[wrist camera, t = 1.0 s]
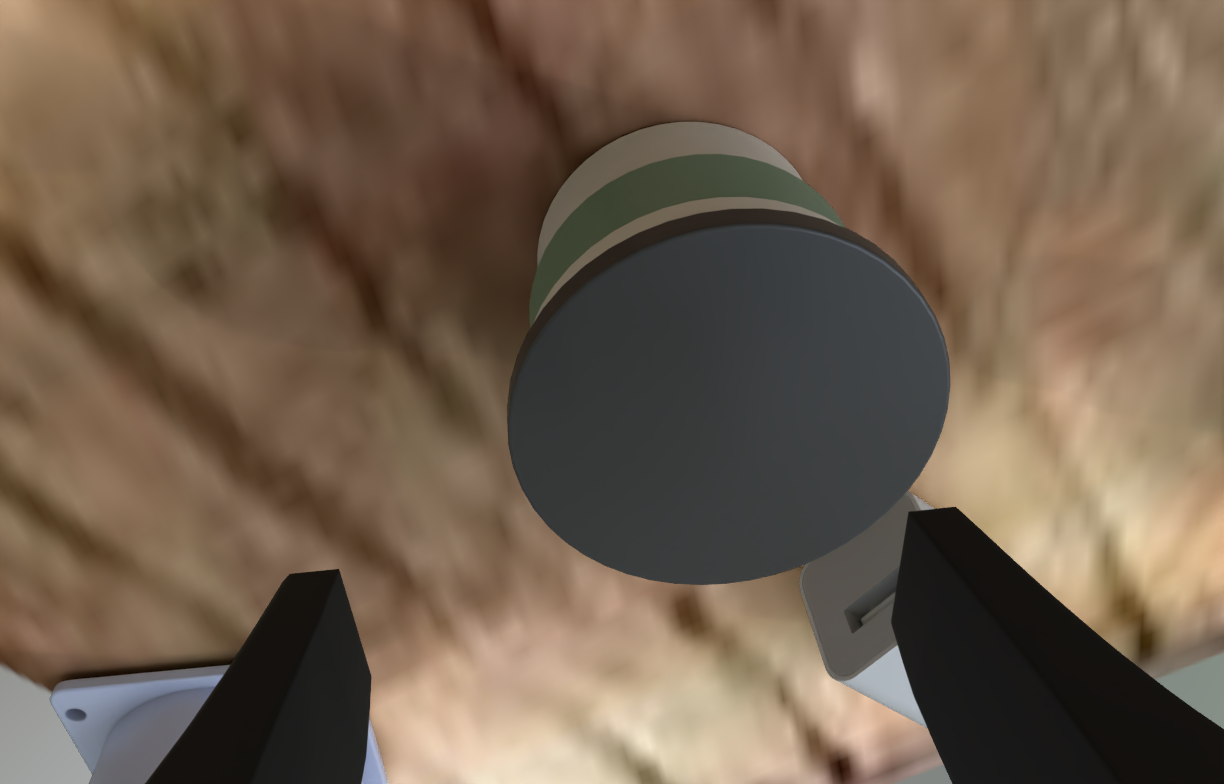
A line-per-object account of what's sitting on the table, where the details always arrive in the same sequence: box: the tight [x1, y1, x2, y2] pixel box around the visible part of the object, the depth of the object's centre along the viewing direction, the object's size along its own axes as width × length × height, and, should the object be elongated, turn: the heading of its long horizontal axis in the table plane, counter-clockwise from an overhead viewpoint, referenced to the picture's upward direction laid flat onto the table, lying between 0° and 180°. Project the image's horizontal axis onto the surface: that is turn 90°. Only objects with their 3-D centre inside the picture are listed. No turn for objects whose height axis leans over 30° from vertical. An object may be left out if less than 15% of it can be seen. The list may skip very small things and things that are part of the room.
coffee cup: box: [507, 122, 950, 585], centre depth 18 cm, size 7×7×6 cm
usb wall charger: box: [799, 491, 934, 728], centre depth 25 cm, size 4×7×4 cm, turn 51°
